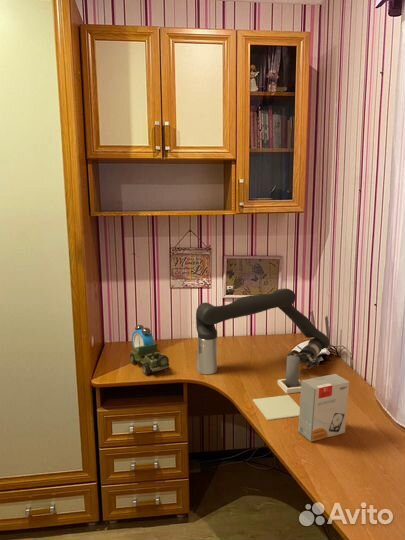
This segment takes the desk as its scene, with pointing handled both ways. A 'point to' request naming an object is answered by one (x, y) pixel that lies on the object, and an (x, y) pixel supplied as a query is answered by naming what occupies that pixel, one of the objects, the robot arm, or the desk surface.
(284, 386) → the off-white collar
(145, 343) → the alarm clock
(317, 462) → the desk surface
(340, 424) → the hard drive box
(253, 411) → the desk surface
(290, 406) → the pale sage mat
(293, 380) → the grey cylinder
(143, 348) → the toy jeep
